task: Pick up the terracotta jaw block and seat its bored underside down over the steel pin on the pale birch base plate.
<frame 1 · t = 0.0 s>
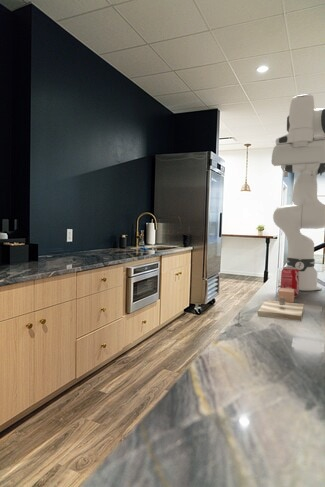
hand: (299, 176, 123), 48 cm above the countertop, fingers open, 8 cm apart
pin plate: (281, 311, 111), on the countertop
soda can: (289, 296, 135), on the countertop
jaw block: (286, 302, 123), on the countertop
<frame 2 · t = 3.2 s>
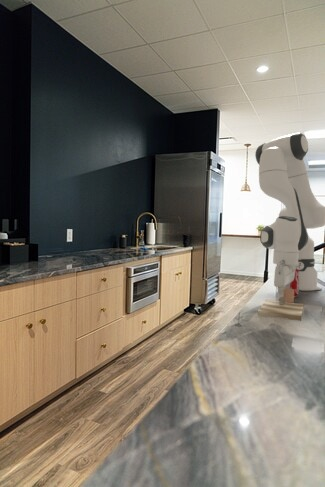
hand: (283, 295, 123), 3 cm above the countertop, fingers open, 8 cm apart
nothing on the countertop moved.
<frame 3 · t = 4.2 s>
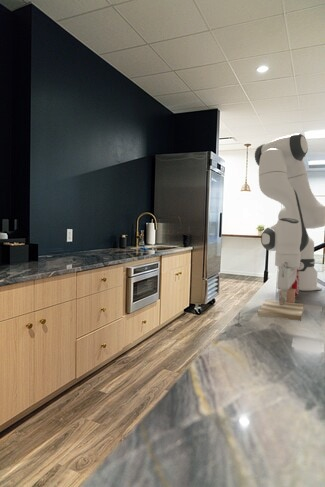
hand: (286, 297, 123), 2 cm above the countertop, fingers closed on jaw block, 7 cm apart
jaw block: (287, 303, 123), on the countertop, touching gripper
everything else where it was.
when the fingers open (5 cm above the countertop, at t = 10.8 s): jaw block drops 1 cm, resting on pin plate.
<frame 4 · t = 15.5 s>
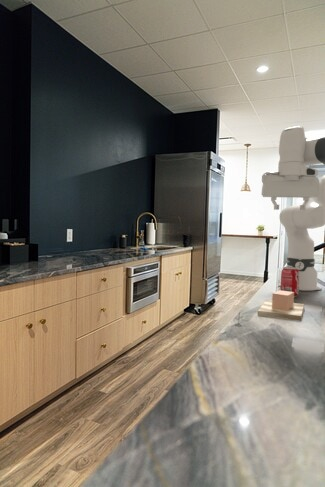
hand: (289, 209, 120), 35 cm above the countertop, fingers open, 8 cm apart
jaw block: (282, 307, 111), point 1 cm above the countertop, touching pin plate
everything else where it was.
at the end: jaw block 0.3 cm off-centre on the pin plate, point 1.5 cm above the pin plate's base; jaw block tilted 0°; the gripper is holding nothing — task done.
